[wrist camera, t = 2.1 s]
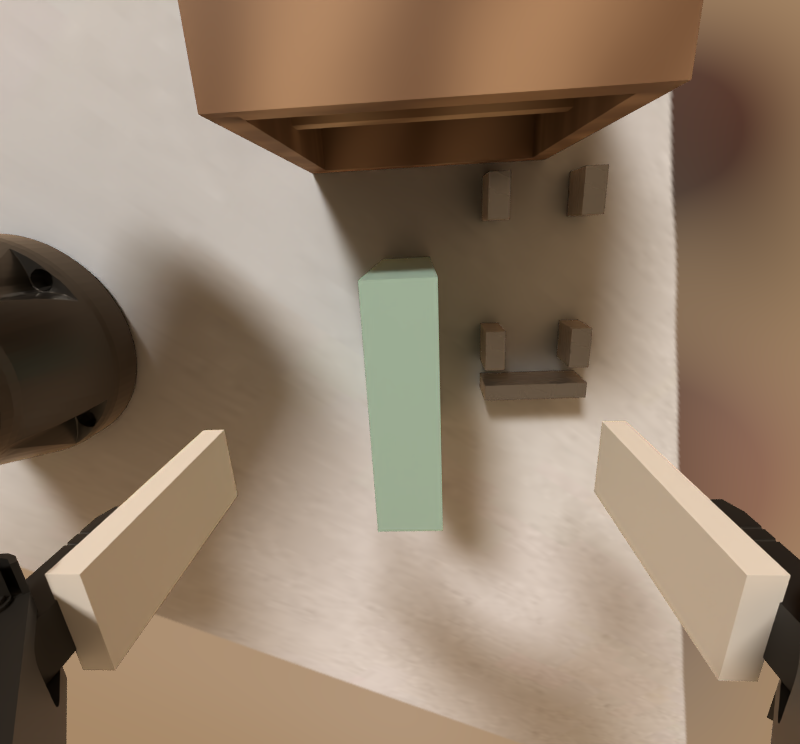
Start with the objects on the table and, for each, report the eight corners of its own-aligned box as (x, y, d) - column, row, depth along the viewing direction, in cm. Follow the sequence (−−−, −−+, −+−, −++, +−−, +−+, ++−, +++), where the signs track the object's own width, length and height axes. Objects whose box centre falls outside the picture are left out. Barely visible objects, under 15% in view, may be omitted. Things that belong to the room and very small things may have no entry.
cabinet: (312, 173, 26) (198, 114, 12) (290, -32, 22) (103, -413, 9) (545, 159, 25) (691, 79, 12) (557, -56, 21) (780, -512, 8)
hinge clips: (479, 386, 30) (484, 400, 27) (482, 176, 25) (488, 171, 23) (571, 383, 29) (585, 397, 27) (590, 170, 25) (608, 164, 22)
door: (392, 419, 31) (378, 531, 19) (383, 258, 27) (357, 280, 16) (433, 418, 31) (442, 530, 19) (429, 256, 27) (437, 277, 16)
